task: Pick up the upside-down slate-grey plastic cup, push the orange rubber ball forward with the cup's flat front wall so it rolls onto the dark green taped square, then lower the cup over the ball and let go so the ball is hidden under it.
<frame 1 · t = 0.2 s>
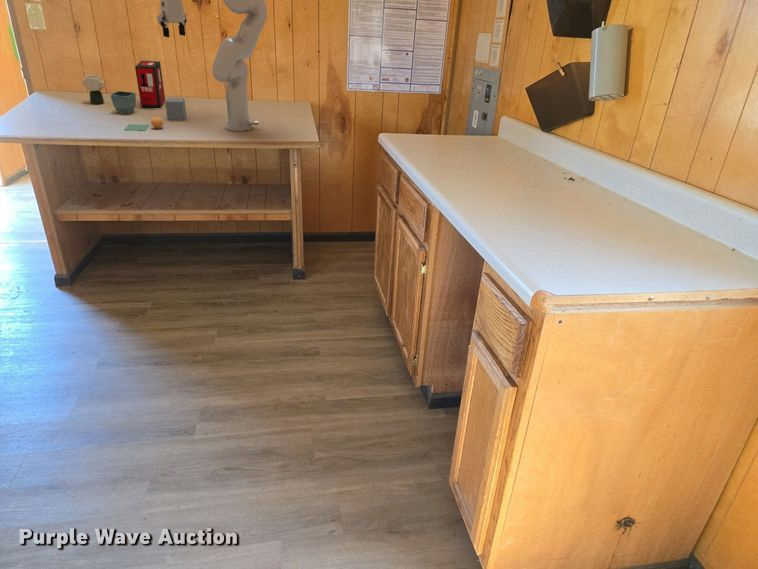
hand: (174, 36, 243), 36 cm above the table, tool pointing down, fingers open, 9 cm apart
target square: (136, 127, 240), on the table
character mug: (97, 103, 270), on the table
ball: (157, 122, 240), on the table
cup: (177, 118, 258), on the table
flower pot: (126, 112, 260), on the table
cleaning product box: (153, 105, 276), on the table
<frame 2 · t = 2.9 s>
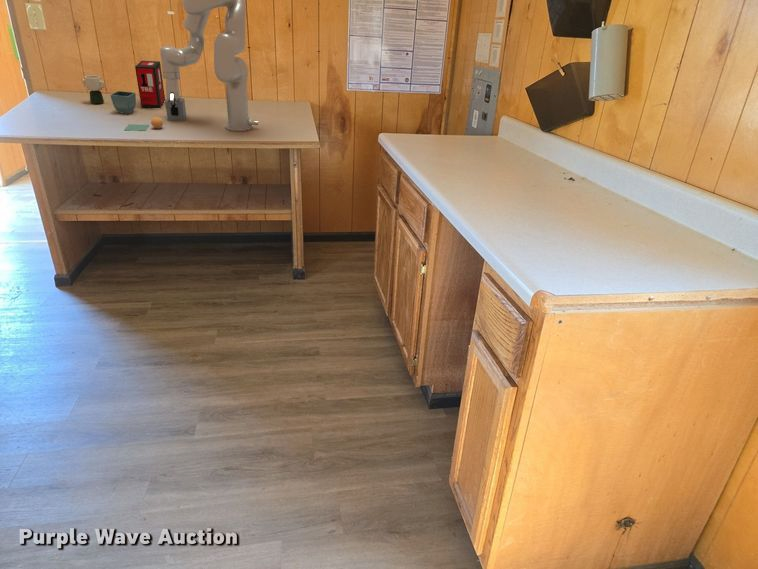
hand: (176, 112, 256), 3 cm above the table, tool pointing down, fingers closed on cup, 7 cm apart
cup: (177, 118, 258), on the table, touching gripper
everything else where it was.
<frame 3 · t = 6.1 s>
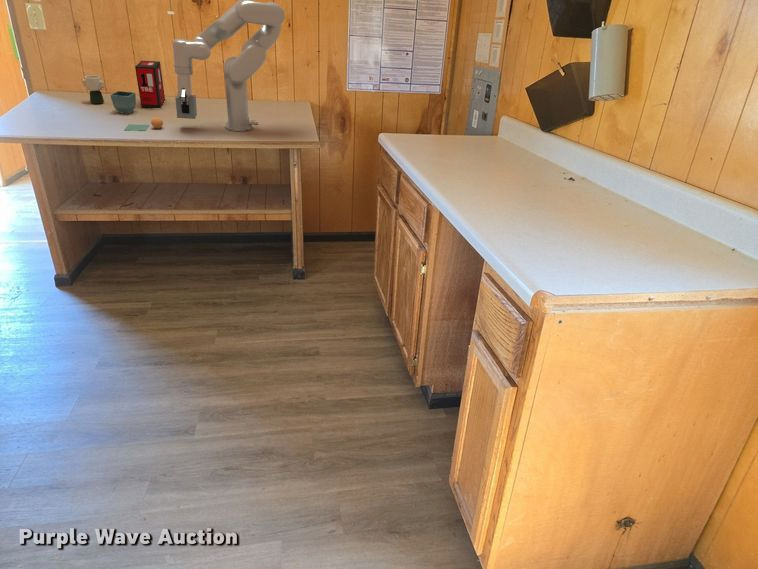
hand: (186, 110, 240), 8 cm above the table, tool pointing down, fingers closed on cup, 7 cm apart
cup: (187, 116, 241), point 6 cm above the table, touching gripper
everything else where it was.
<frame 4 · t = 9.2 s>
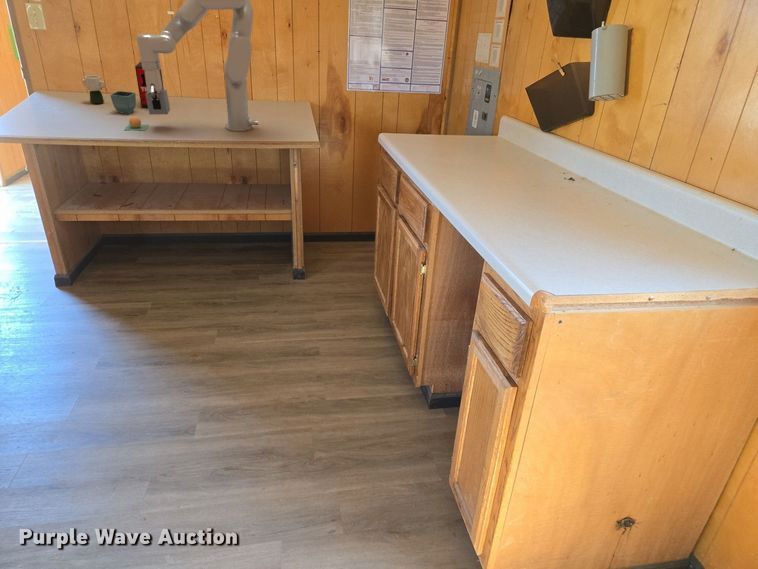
hand: (159, 106, 237), 10 cm above the table, tool pointing down, fingers closed on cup, 7 cm apart
ball: (135, 122, 239), on the table
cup: (159, 112, 238), point 7 cm above the table, touching gripper
everything else where it was.
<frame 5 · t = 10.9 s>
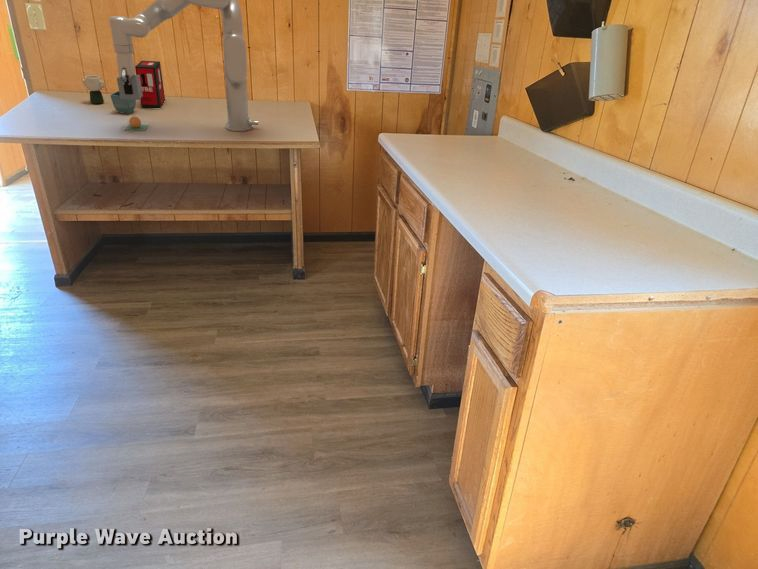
hand: (131, 91, 232), 16 cm above the table, tool pointing down, fingers closed on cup, 7 cm apart
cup: (131, 97, 233), point 13 cm above the table, touching gripper
everything else where it was.
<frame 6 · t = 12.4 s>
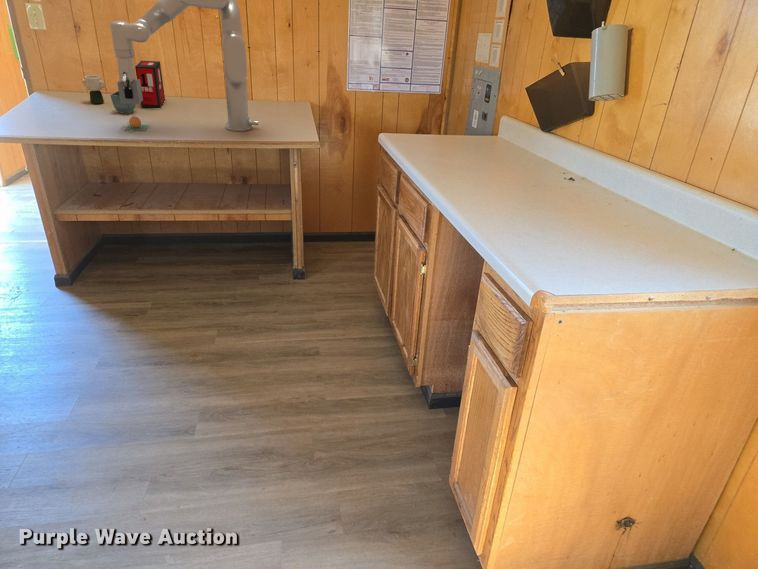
hand: (131, 96, 233), 14 cm above the table, tool pointing down, fingers closed on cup, 7 cm apart
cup: (132, 101, 234), point 12 cm above the table, touching gripper
everything else where it was.
when the fingers open (3 cm above the table, at t = 15.3 s): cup stays where it is, on the table.
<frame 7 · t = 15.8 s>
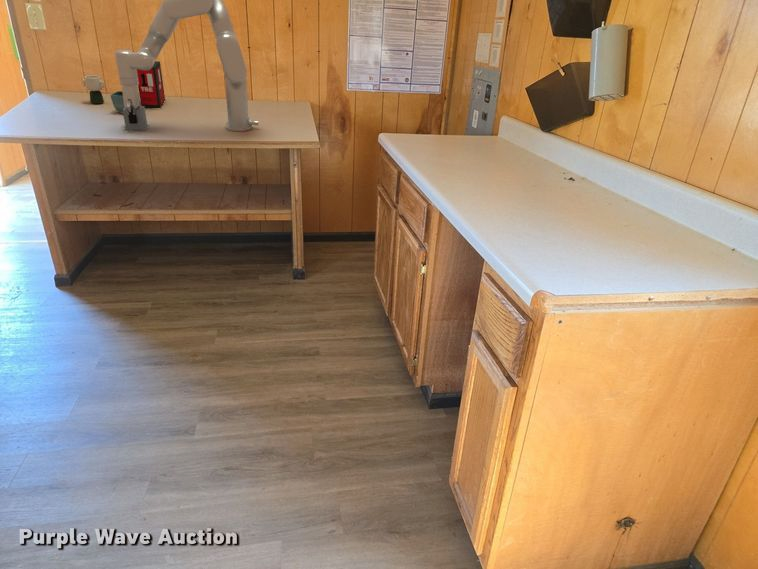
hand: (135, 120, 238), 3 cm above the table, tool pointing down, fingers open, 9 cm apart
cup: (136, 127, 240), on the table
everything else where it was.
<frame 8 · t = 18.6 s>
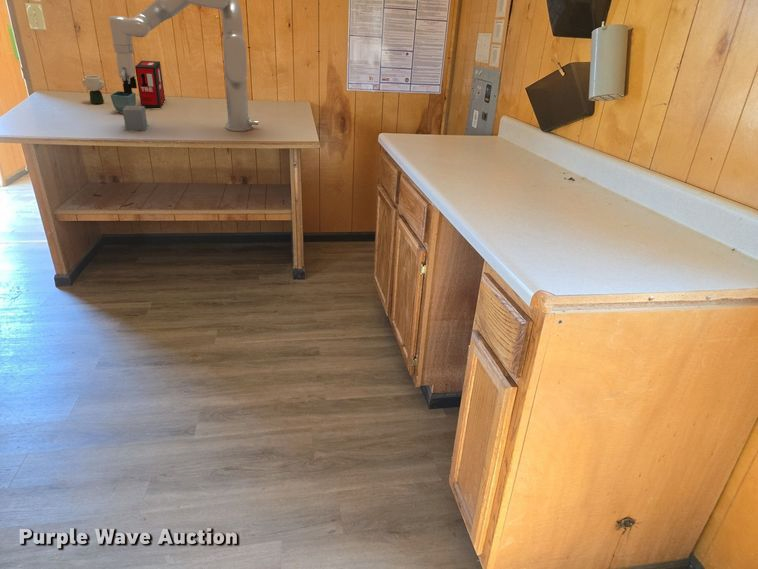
hand: (130, 90, 231), 16 cm above the table, tool pointing down, fingers open, 9 cm apart
nothing on the table moved.
at the end: ball 0.4 cm from the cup (horizontally); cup on the table; ball moved 9.4 cm from its start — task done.
